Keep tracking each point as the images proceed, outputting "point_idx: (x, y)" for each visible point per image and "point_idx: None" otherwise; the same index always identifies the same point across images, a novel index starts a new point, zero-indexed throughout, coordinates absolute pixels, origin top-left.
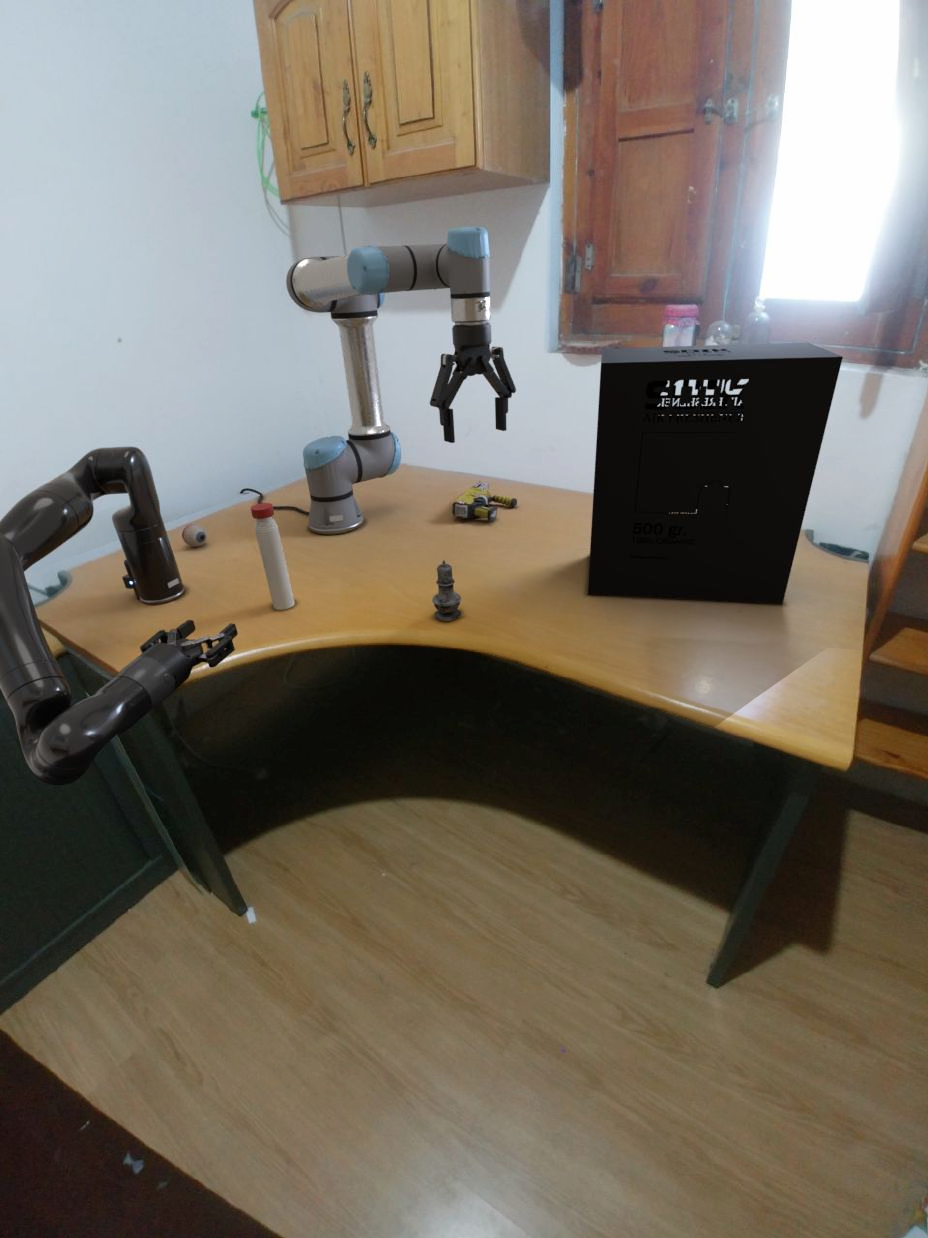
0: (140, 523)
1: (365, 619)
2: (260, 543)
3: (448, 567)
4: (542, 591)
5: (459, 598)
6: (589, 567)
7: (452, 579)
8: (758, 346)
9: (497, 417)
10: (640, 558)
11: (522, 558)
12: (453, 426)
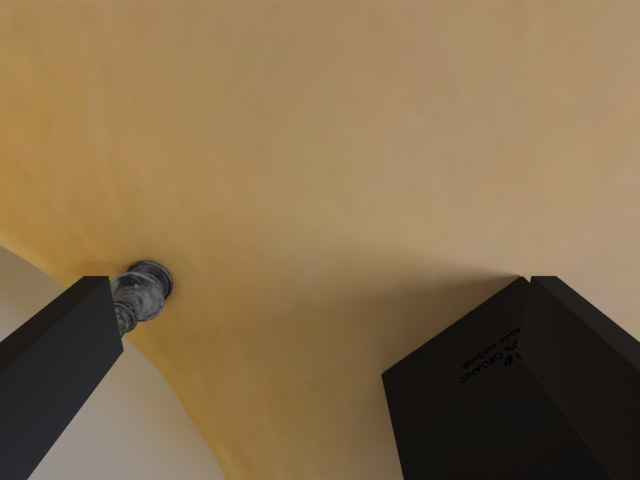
0: None
1: (6, 197)
2: None
3: None
4: (336, 320)
5: (155, 313)
6: (389, 412)
7: (129, 327)
8: None
9: (573, 345)
10: None
11: (415, 190)
12: (62, 425)
